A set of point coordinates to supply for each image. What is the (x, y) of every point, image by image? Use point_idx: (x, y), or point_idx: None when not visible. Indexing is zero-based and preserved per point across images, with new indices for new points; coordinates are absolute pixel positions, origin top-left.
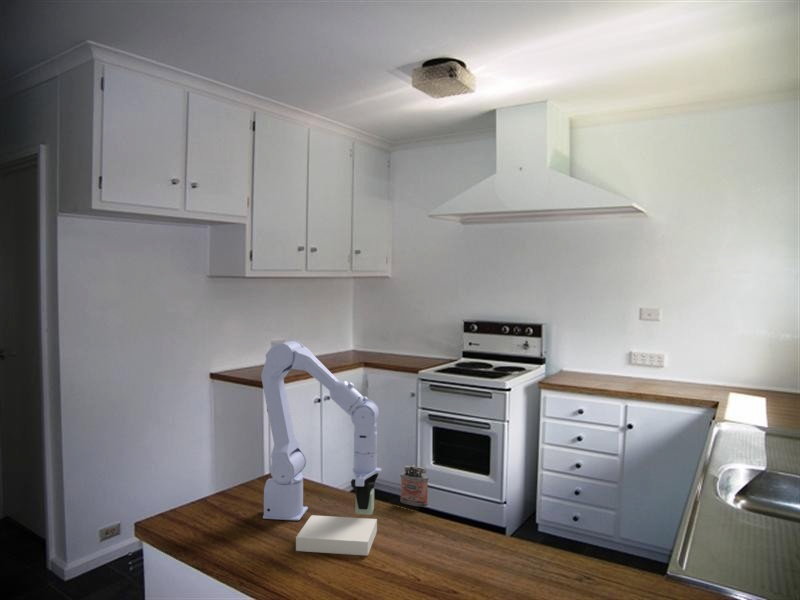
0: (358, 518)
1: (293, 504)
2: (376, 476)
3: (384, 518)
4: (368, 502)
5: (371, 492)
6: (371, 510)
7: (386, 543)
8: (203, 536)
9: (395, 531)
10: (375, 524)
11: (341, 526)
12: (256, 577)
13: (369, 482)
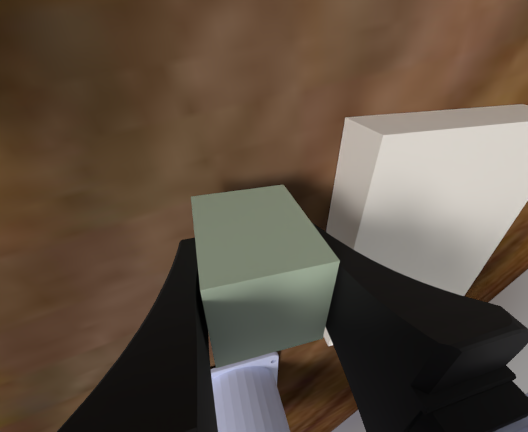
0: (365, 221)
1: (277, 405)
2: (199, 425)
3: (182, 114)
4: (332, 236)
5: (297, 275)
6: (287, 195)
7: (460, 42)
8: (346, 400)
9: (346, 6)
10: (416, 128)
11: (424, 248)
12: (499, 287)
13: (469, 371)
